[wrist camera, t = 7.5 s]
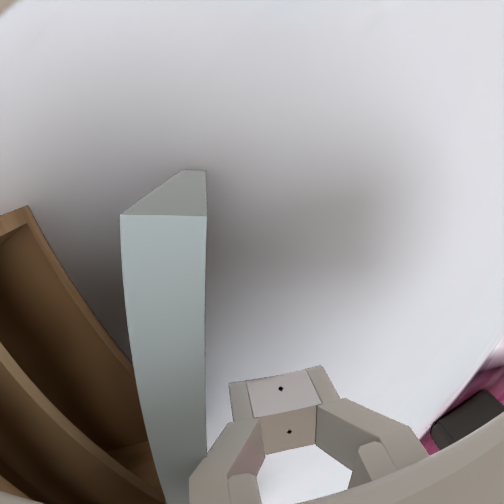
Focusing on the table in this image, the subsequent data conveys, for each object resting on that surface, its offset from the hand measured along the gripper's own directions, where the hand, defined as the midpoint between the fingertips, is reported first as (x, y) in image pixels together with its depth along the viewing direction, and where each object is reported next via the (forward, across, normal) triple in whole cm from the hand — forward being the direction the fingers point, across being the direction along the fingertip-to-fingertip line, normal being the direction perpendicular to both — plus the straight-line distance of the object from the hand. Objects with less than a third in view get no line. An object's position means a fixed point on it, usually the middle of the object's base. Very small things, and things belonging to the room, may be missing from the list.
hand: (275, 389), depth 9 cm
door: (+9, +3, +3) cm, 10 cm away
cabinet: (+10, +15, +5) cm, 18 cm away
